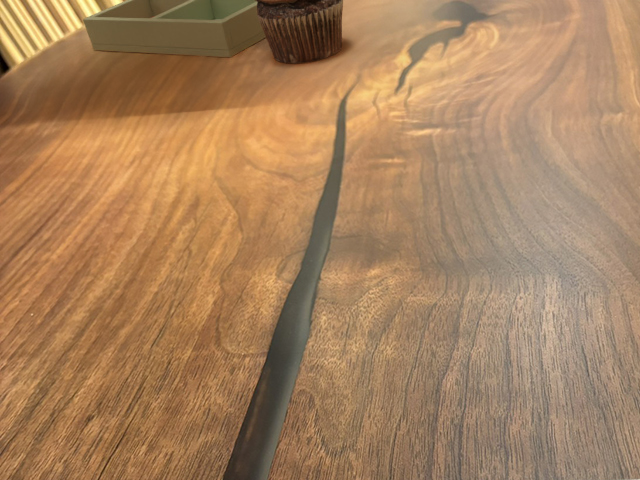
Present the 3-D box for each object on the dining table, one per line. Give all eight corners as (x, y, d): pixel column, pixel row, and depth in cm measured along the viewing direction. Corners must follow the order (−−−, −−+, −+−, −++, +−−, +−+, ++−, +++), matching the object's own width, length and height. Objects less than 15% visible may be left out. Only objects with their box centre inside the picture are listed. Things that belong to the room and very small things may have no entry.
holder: (230, 57, 84) (221, 22, 81) (93, 50, 94) (82, 19, 92) (288, 24, 91) (281, -9, 89) (155, 21, 101) (146, -9, 99)
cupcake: (252, 67, 80) (229, -34, 74) (286, 38, 87) (267, -56, 80) (332, 65, 77) (315, -40, 71) (360, 35, 84) (347, -63, 77)
